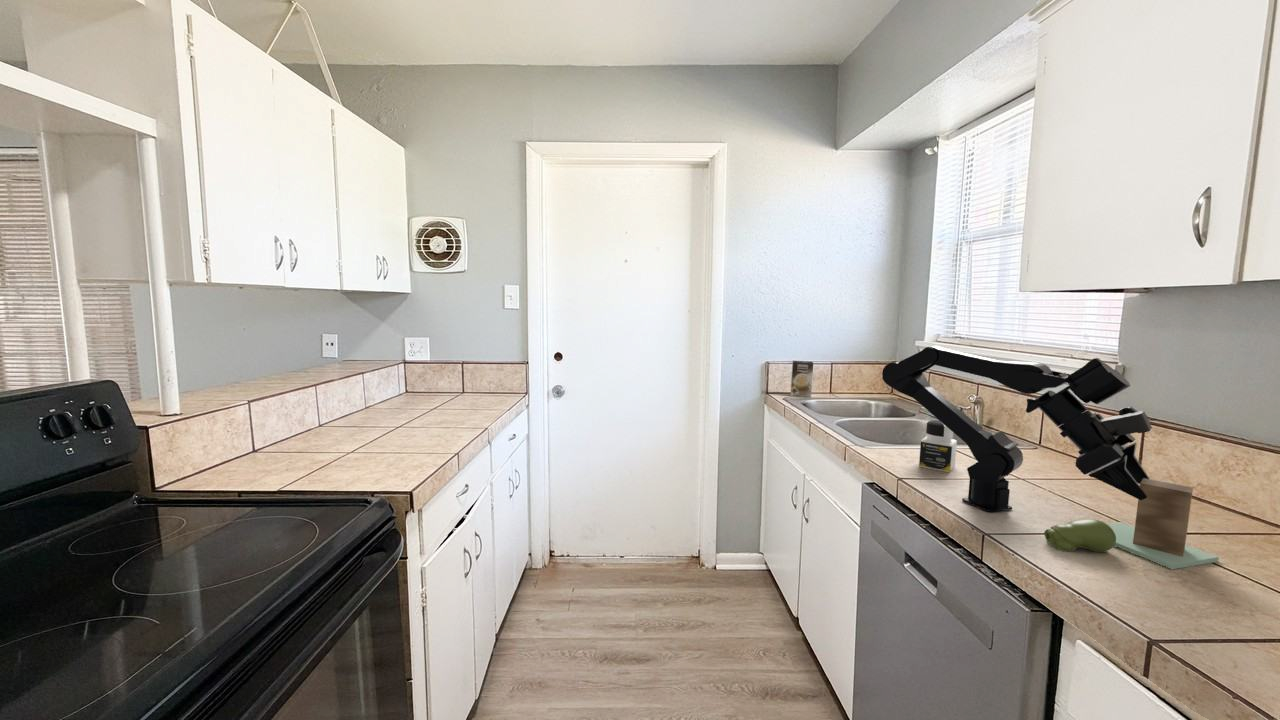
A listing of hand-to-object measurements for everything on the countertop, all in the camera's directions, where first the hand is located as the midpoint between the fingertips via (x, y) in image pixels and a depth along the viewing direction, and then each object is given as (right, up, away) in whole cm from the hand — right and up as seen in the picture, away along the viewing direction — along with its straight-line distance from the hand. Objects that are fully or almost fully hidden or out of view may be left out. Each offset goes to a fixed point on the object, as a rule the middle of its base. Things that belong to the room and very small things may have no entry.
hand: (1147, 492), depth 88 cm
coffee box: (-14, +6, +146) cm, 147 cm away
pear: (-12, -10, +1) cm, 16 cm away
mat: (+1, -10, +1) cm, 10 cm away
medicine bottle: (-10, -5, +45) cm, 46 cm away
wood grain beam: (+1, -9, -1) cm, 9 cm away
